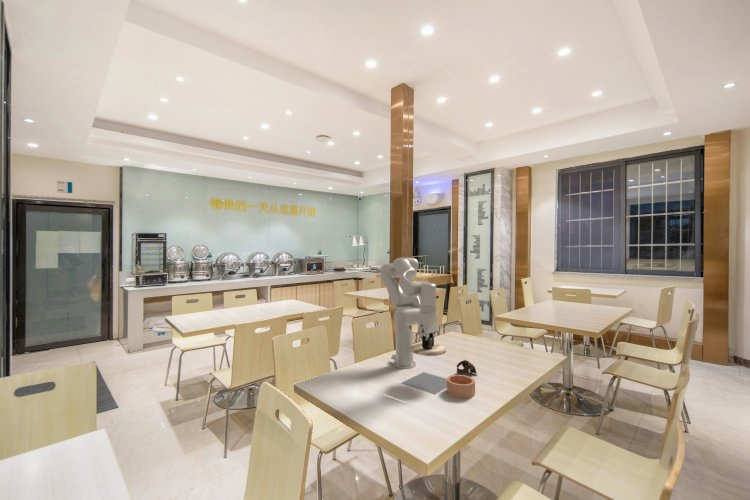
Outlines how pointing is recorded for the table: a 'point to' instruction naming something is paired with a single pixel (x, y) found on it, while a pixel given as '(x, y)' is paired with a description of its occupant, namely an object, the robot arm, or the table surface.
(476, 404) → the table surface
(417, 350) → the lid
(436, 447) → the table surface
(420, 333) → the robot arm
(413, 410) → the table surface
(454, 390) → the bowl
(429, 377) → the mat
